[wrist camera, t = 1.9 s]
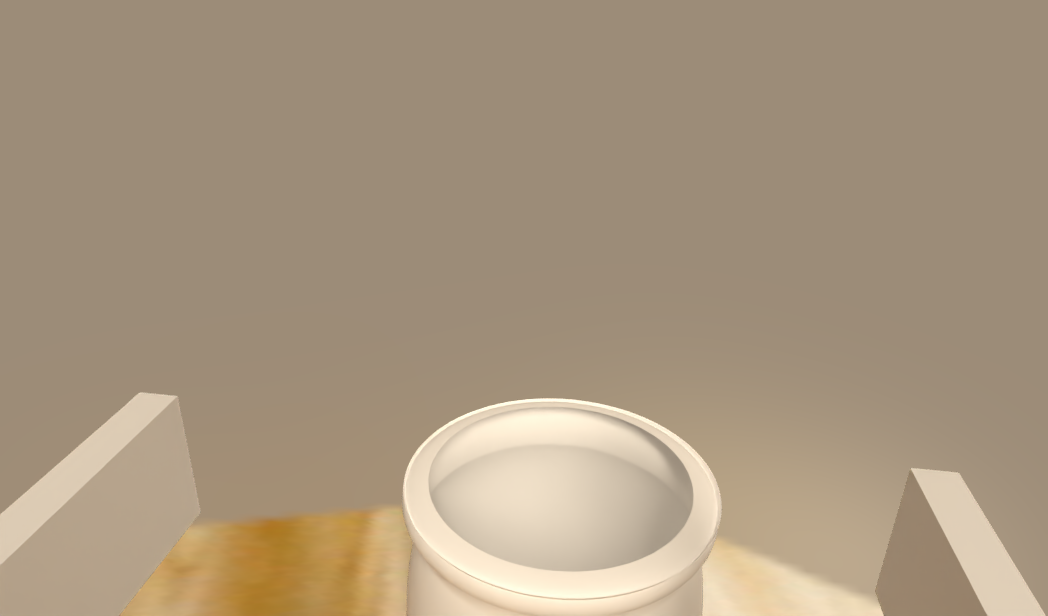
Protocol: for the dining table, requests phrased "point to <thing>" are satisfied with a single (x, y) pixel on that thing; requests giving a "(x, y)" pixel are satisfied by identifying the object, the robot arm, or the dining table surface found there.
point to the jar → (557, 515)
